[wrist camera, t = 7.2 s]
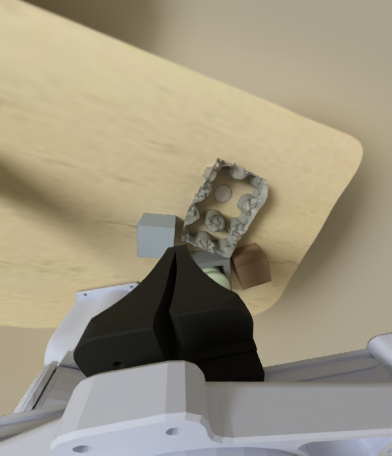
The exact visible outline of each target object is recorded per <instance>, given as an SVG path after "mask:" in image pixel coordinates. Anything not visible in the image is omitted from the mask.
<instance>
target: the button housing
mask: <svg viewBox="0 0 392 456" xmlns="http://www.w3.org/2000/svg"><path fill="white" fill-rule="evenodd" d="M189 254H190V255H191V257H192V258H193V260H194V261H195V262H196V264H197V265H198V266H199V267H200V268H201V269H203V268H209V267H215V266H220V267H221V273H222V274H224V275H225V276H226V277H227V279H228V282H229V284H230V290H231V291H232V289H231V271H230V258H226V257H223V256H221V255H219V254H217V253H214V254H213V253H212V252H209V251H207V250H203V251H196V252H190V253H189Z"/></svg>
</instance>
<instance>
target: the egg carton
mask: <svg viewBox="0 0 392 456" xmlns="http://www.w3.org/2000/svg"><path fill="white" fill-rule="evenodd" d="M225 166H226V173H227V174H228V175H229V176H230V177H232V178H234V179H236V180H242V179H245V178H246V177H247V176H249V175H250V184H251V185H252V186H253V187H254V189H253V191H252V193H251V194H245V195H242V196H241V197H240V198H239V199H238V202H237V206H238V208H239V209H240V210H241V213H240V215H239V217H238V218H231V219H229V220H228V222H227V223H226V229H227V231H228V232H229V236H228V238H222V239H220V240H218V241H217V242H213V241H212V239H211V236H210V235H209V233H208V232H206V231H200V232H198V233H197V234H196V235H195V236H192V235H189V232H188V228H187V226H186V225H189V224H193V223H194V222H195V221H197V220H198V219H200V214H199V210H198V207H197V205H196V204H195V203H196V202H201V201H203V200H204V198H206V197H208V196H209V194H210V192H211V191H212V190H213V188H212V183H213V181H214V180H215V178H216V176H217V174H218V172H219V171H220V169H221V168H222V167H225ZM203 176H204V177H205V178H206V182H205V183H204V185H203V186H202V187H200V189H199V191H198V193H197V194H195V196H194V200H193V202H192V204H191V206H190V207H189V210H188V212H187V215H186V218H185V220H184V225H183V229H182V231H181V234H182V236H181V241H182V242H188V243H190V244H192V245H193V246H195V247H200V248H202V249H204V250H207V251H209V252H212V253H213V254H214V253H217V254H219V255H221V256H223V257H226V258H230V257H231V255H232V253H233V251H234V249H235V248H236V245H237V243H238V241H239V240H240V239H241V236H242V235H243V234H245V233H246V232H247V229H248V227H249V225H250V224H251V222H252V221H253V219H254V217H255V215H256V214H257V212H258V211H259V210H260V208H261V207H262V206H263V204H264V203H265V201H266V199H267V196H268V186H267V181H266V180H265V179H263V178H260V177H258V176H257V175H255V174H253V173H251V172H248V171H246V170H245V169H244V168H243V167H241V166H239V165H237V164H235V163H234V165H232V164H230V163H228V162H226V161H223V160H221V159H219V158H217V161H216V163H215V164H214V166H213V167H207V168H206V169H205V171H204V173H203ZM231 195H232V191H231V189H230V187H229V186H227V185H220V186H219V187H217V188H216V190H215V192H214V197H215V199H216V200H217V201H218V202H221V203H223V202H226V201H228V200H229V199H230V197H231ZM204 222H205V225H206V227H207V229H208V230H210V231H211V232H213V233H215V232H220V231H221V230H223V229H224V228H225V222H224V219H223V217H222V216H221V214H220V213H219V212H218V211H217V210H214V209H211V210H208V211H207V212H206V213H205V214H204Z"/></svg>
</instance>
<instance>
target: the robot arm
mask: <svg viewBox="0 0 392 456" xmlns="http://www.w3.org/2000/svg"><path fill="white" fill-rule="evenodd" d="M75 296H76V298H77V300H76V302H75V303H74V305H73V306H72V308H71V309H70V311H69V312H68V313H67V315H66V316H65V318H64V319H63V321H62V322H61V324H60V325H59V327H58V328H57V330H56V331H55V332H54V334H53V335H52V337H51V339H50V341H49V343H48V346H47V349H46V353H45V359H44V362H45V366H44V367H43V368H42V369H41V371H40V372H39V373H38V375H37V376H36V378H35V379H34V381H33V382H32V384H31V386H30V387H29V389H28V390H27V392H26V393H25V395H24V397H23V398H22V400H21V401H20V403H19V405H18V406H17V408H16V409H15V411H14V413H13V414H9V415H3V416H0V456H392V332H391V333H385V334H380V335H377V336H374V337H372V338H371V339H370V340H369V341H368V344H367V348H366V349H361V350H355V351H350V352H345V353H339V354H334V355H328V356H323V357H317V358H312V359H307V360H301V361H296V362H291V363H285V364H280V365H275V366H269V367H262V364H261V362H260V359H259V357H258V354H257V348H256V344H255V342H254V339H253V319H252V316H251V314H250V312H249V310H248V309H247V307H246V305H245V304H244V302H243V301H242V299H241V298H240V297H239V295H238V294H237V293H235V292H233V291H231V290H229V289H227V288H225V287H223V286H222V285H220V284H218V283H217V282H216V281H214V280H213V279H212V278H210V277H209V276H208V275H207V274H206V273H205V272H204V271H203V270H202V269H201V268H200V267H199V266H198V265H197V264H196V262H195V261H194V260H193V258H192V257H191V255H190V254H189V252H188V249H187V246H186V245H180V246H174V247H168V248H167V250H166V251H165V253H164V254H163V256H162V257H161V259H160V260H159V262H158V263H157V264H156V266H155V267H154V268H153V270H152V271H151V272H150V273H149V274H148V276H147V277H146V278H145V279H144V280H143V281H142V282H141V283H140V284H139V283H137V282H134V283H128V284H122V285H116V286H110V287H104V288H98V289H92V290H86V291H80V292H77V293H76V294H75Z"/></svg>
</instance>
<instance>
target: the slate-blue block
mask: <svg viewBox="0 0 392 456" xmlns="http://www.w3.org/2000/svg"><path fill="white" fill-rule="evenodd" d="M175 218H176V216H173V215H162V214H150V213H144V214H143V216H142V217H141V219H140V221H139V223H138V224H137V257H147V258H161V257H162V256H163V254H164V253H165V251H166V250H167V248H168V247H173V245H174V234H175Z"/></svg>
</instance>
